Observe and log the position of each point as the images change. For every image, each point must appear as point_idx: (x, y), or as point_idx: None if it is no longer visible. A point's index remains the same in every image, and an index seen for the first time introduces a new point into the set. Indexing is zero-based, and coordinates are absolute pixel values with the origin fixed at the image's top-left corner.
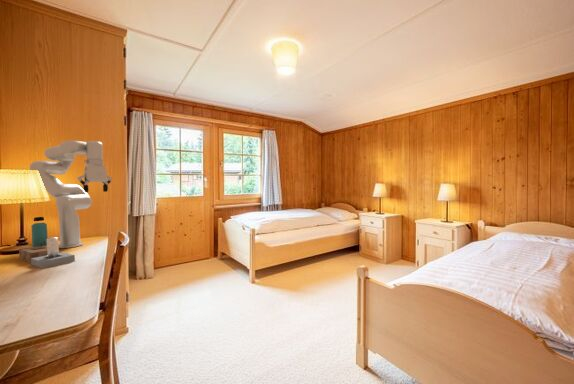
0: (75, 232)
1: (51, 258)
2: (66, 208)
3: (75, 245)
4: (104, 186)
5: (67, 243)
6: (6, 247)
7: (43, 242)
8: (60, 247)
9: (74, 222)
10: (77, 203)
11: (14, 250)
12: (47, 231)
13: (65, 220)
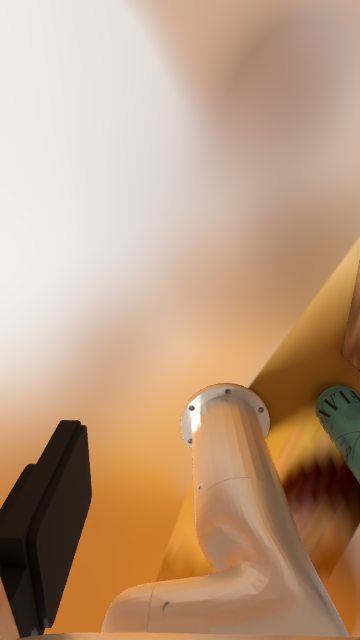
0: (226, 431)
1: None
2: (302, 560)
3: (227, 385)
4: (54, 551)
5: (249, 408)
6: None
7: (353, 403)
8: (266, 408)
9: (237, 470)
10: (232, 598)
11: (339, 516)
12: (347, 451)
13: (279, 494)
